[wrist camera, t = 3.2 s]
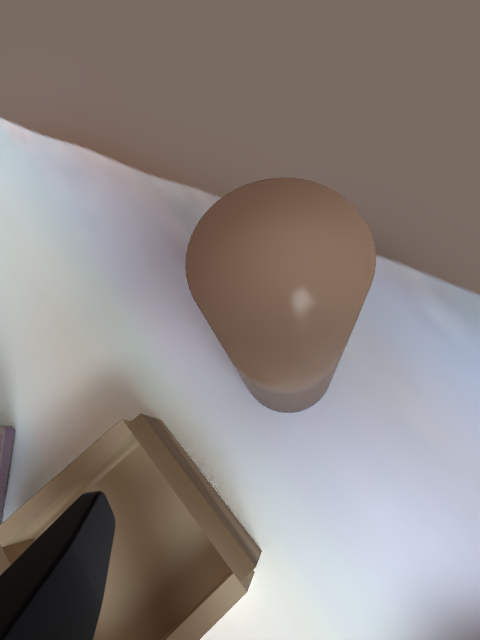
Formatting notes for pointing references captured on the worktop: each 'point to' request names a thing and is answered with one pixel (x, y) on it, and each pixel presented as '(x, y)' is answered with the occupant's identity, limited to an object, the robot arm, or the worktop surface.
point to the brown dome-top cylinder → (282, 284)
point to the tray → (149, 535)
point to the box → (5, 460)
